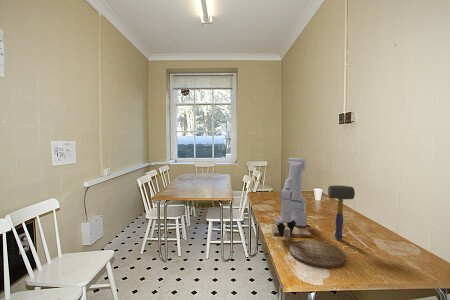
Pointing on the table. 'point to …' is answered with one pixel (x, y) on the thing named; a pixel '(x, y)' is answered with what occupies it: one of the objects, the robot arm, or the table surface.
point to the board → (294, 232)
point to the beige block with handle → (286, 234)
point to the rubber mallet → (340, 204)
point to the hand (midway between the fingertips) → (285, 235)
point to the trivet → (317, 254)
